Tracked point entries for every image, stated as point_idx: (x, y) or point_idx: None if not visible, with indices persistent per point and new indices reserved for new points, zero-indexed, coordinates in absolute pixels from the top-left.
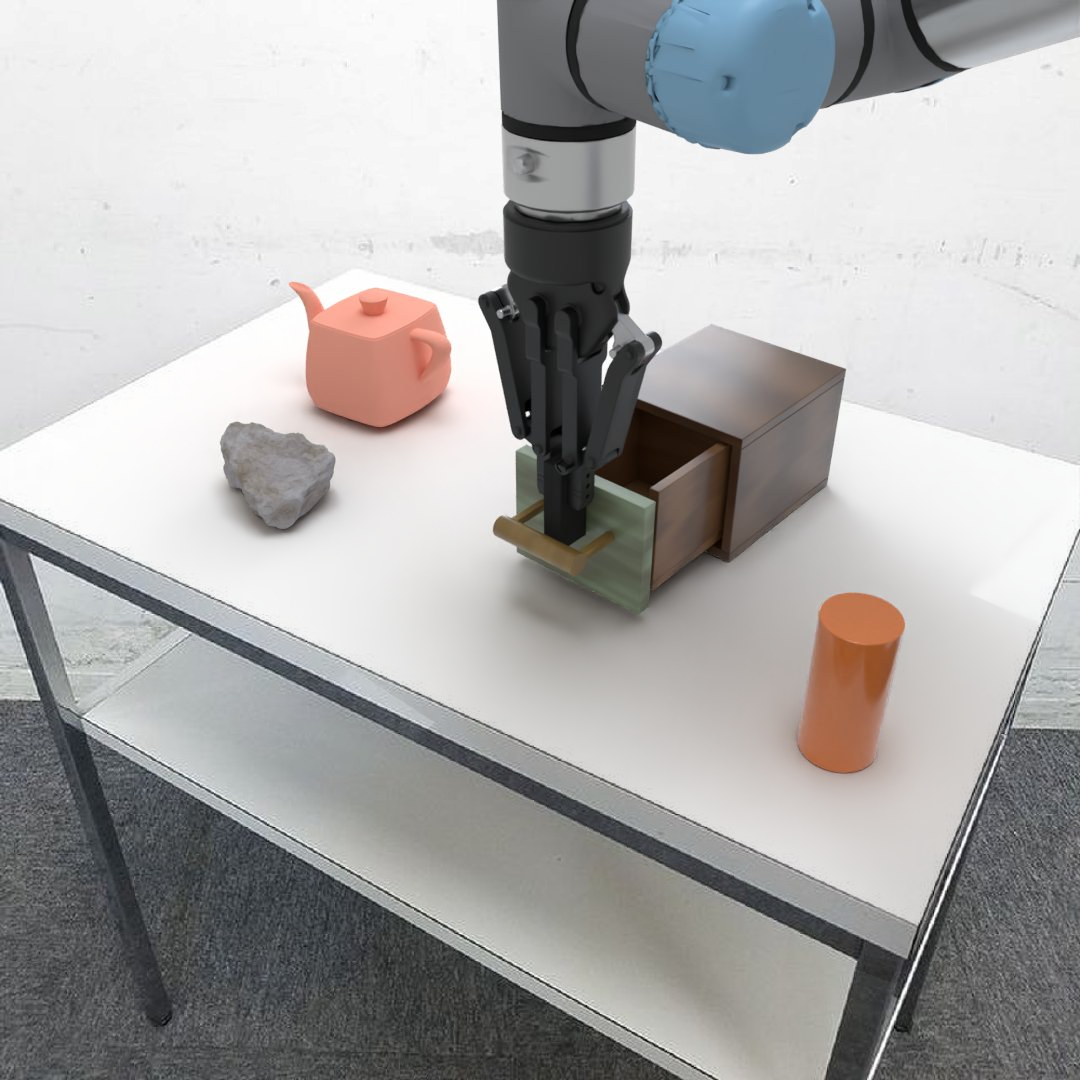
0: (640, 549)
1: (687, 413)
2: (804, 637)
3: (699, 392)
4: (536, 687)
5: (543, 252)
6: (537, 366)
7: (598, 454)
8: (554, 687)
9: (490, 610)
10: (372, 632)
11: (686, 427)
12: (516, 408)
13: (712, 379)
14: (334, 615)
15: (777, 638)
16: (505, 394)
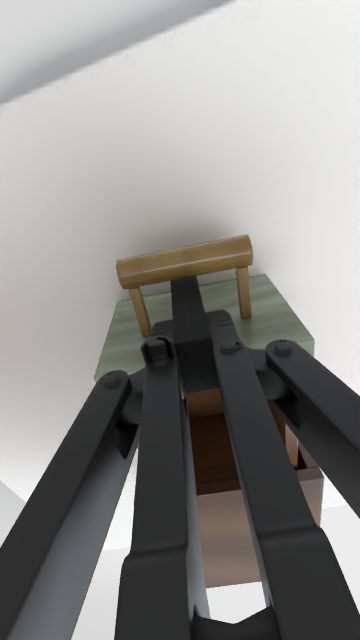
0: (107, 341)
1: (209, 499)
2: (40, 377)
3: (233, 522)
4: (93, 161)
5: None
6: (285, 515)
7: (93, 399)
8: (84, 177)
9: (222, 201)
10: (286, 51)
11: (224, 479)
12: (304, 381)
13: (242, 537)
14: (349, 25)
15: (48, 364)
16: (348, 392)
